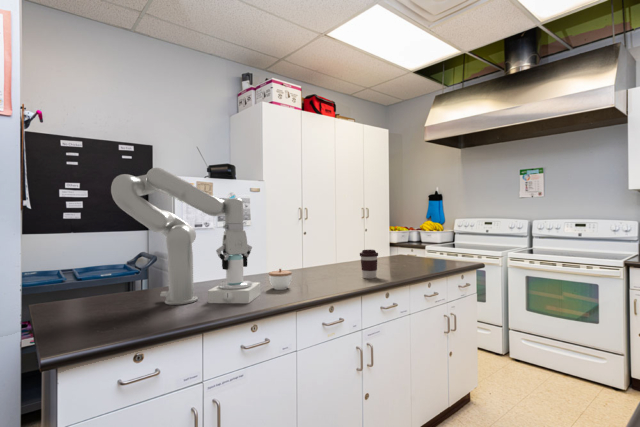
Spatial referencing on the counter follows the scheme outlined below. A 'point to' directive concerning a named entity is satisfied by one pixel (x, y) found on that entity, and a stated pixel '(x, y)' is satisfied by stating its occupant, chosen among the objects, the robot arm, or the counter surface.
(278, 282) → the lidded jar
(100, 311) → the counter surface
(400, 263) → the counter surface
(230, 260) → the can
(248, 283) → the scale pan
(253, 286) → the scale base
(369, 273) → the coffee cup
